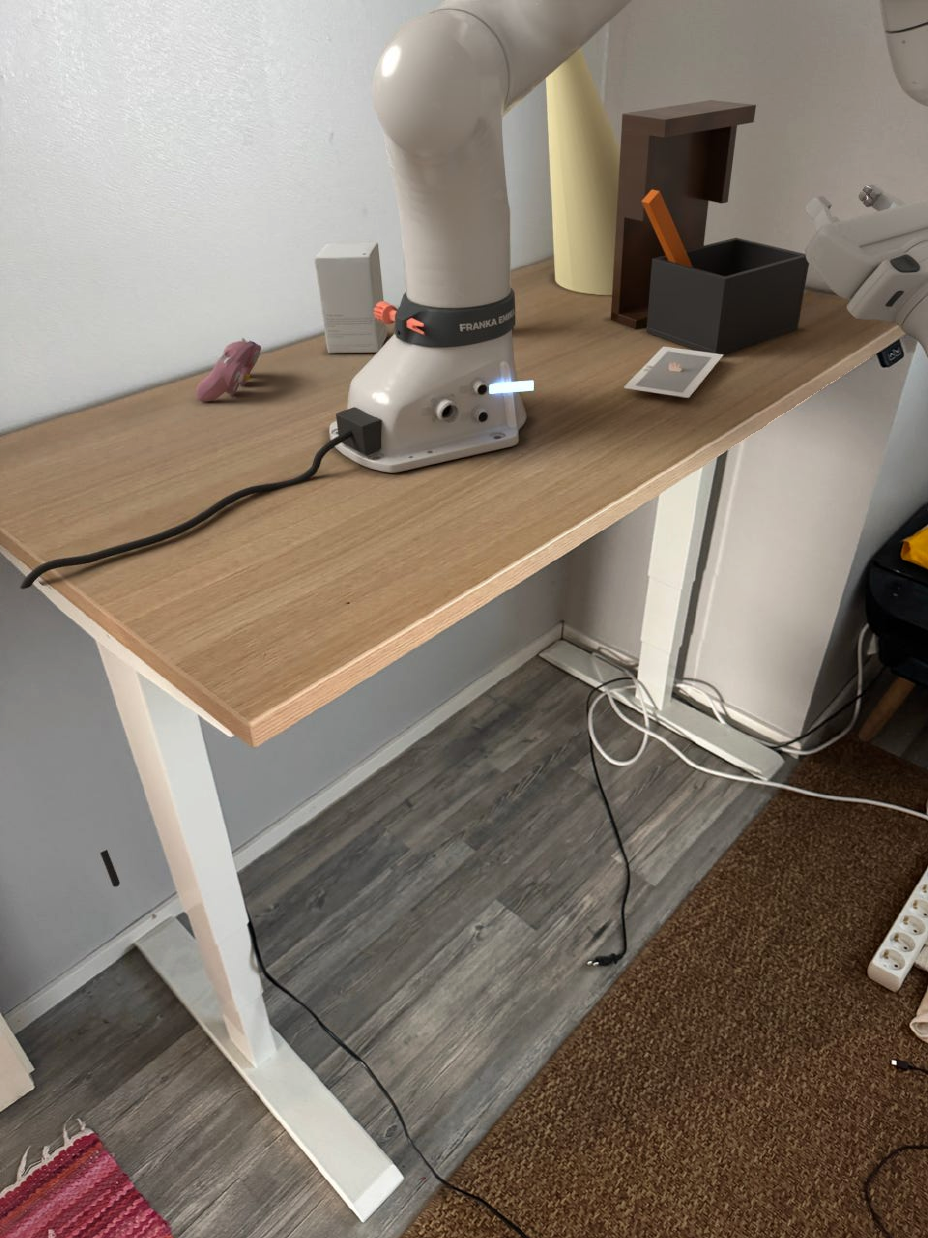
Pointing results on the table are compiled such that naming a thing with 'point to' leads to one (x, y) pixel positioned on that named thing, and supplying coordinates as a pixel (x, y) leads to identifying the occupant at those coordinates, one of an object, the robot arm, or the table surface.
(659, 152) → the shelf stand
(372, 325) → the white packaging box
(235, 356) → the video game controller
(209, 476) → the table surface
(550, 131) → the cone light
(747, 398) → the table surface
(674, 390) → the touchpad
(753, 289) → the basket
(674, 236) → the orange croquet mallet
